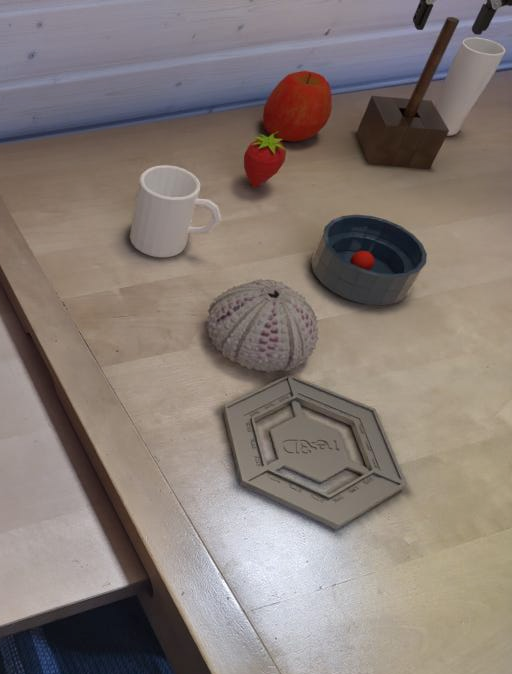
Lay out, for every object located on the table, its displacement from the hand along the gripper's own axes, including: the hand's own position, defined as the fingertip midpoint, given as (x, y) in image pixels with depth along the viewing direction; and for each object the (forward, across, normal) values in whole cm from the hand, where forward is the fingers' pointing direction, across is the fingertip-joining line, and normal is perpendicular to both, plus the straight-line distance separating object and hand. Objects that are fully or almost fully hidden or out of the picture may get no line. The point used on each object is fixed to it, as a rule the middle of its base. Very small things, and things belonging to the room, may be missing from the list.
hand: (446, 30), depth 107 cm
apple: (+20, -17, +3) cm, 27 cm away
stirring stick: (+20, 0, 0) cm, 20 cm away
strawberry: (+20, -25, -15) cm, 36 cm away
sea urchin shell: (+20, -29, -50) cm, 61 cm away
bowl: (+20, -13, -35) cm, 42 cm away
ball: (+18, -13, -34) cm, 41 cm away
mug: (+20, -39, -32) cm, 54 cm away
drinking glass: (+20, +11, +9) cm, 25 cm away
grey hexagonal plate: (+20, -25, -66) cm, 73 cm away
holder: (+20, 0, 0) cm, 20 cm away
